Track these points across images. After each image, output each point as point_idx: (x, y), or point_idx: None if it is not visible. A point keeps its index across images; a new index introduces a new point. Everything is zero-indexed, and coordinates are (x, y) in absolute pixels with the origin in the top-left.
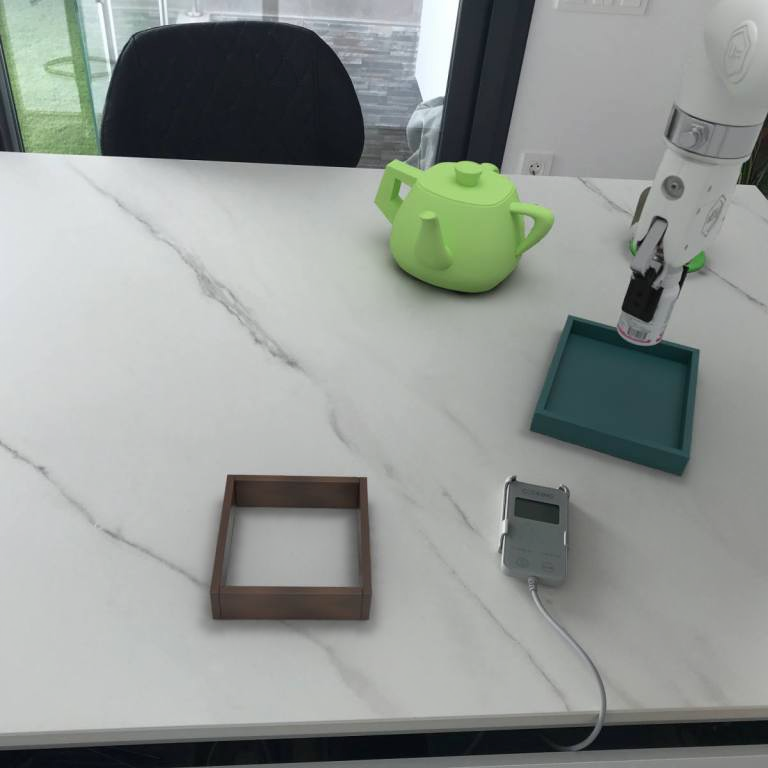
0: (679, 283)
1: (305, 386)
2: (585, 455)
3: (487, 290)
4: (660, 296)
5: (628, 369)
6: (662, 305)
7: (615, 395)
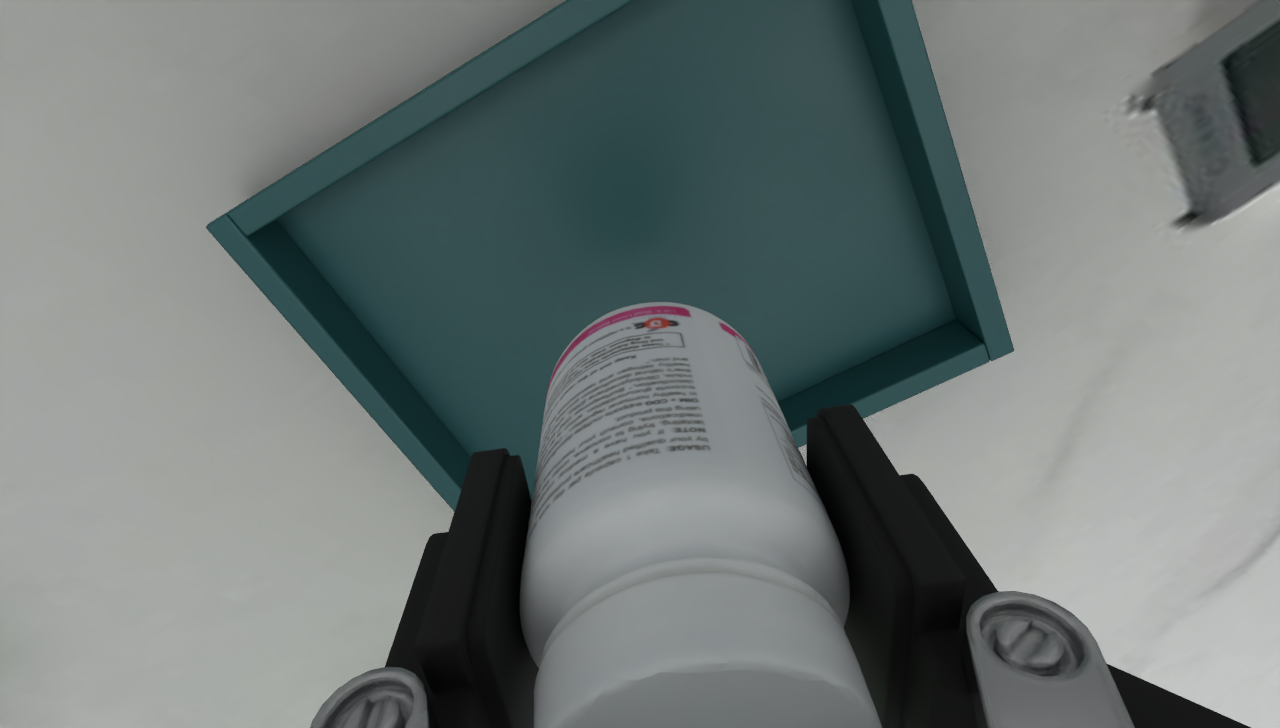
0: (500, 546)
1: (1166, 663)
2: (961, 150)
3: None
4: (900, 526)
5: (504, 322)
6: (776, 457)
7: (657, 266)
